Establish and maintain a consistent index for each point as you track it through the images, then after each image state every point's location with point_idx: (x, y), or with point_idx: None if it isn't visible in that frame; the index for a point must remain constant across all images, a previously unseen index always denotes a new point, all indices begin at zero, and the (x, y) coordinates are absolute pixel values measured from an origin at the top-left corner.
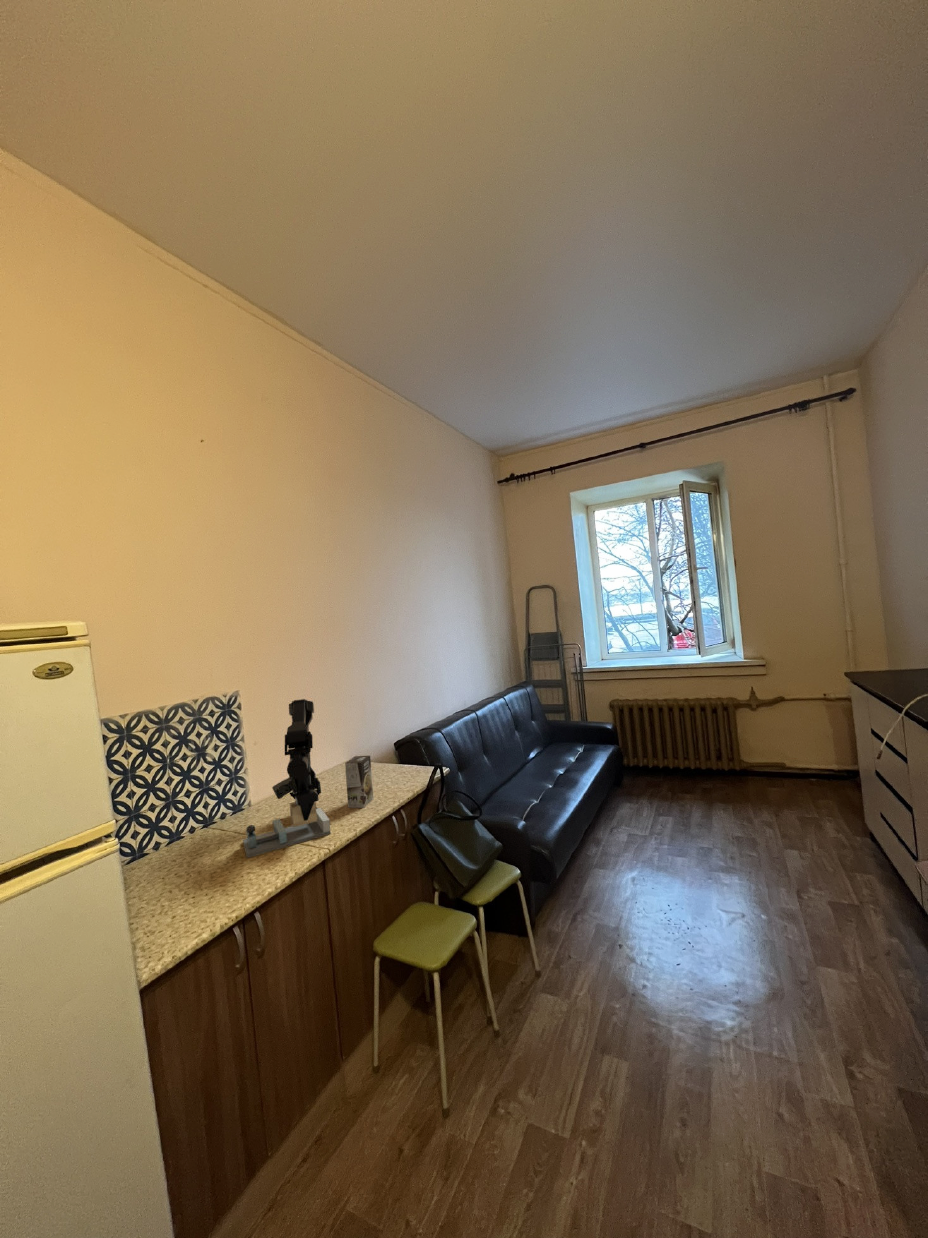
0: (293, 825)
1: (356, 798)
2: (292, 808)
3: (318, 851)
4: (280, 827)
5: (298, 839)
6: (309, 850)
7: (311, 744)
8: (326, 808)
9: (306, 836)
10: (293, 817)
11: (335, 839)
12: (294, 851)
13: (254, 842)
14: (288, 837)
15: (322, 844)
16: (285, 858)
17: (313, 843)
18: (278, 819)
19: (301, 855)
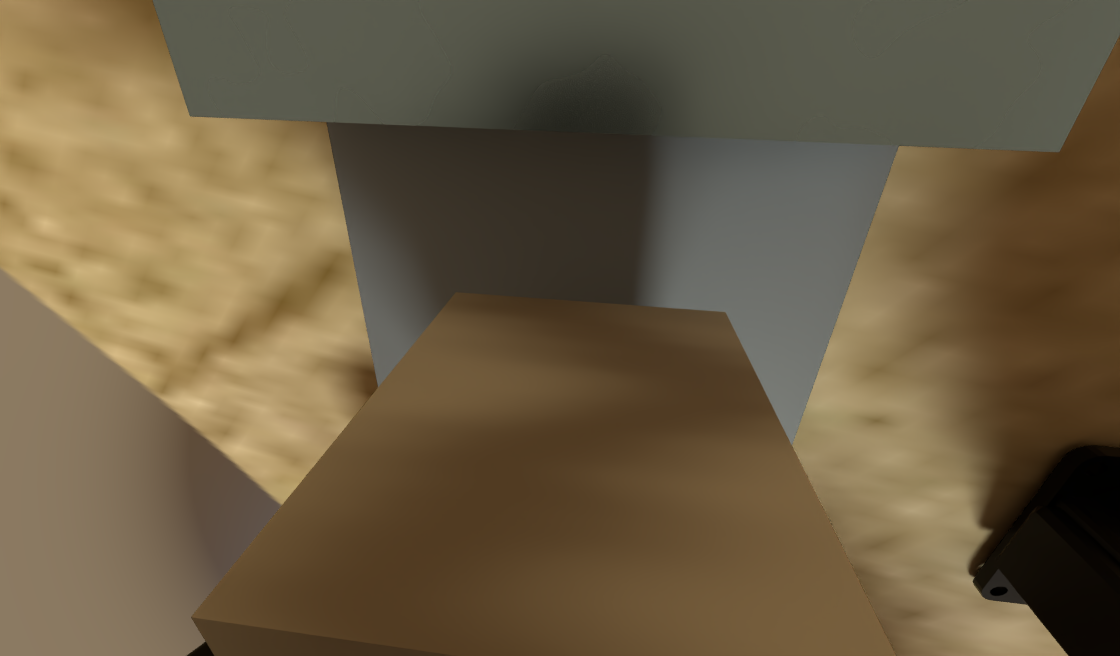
0: (494, 303)
1: None
2: (246, 597)
3: (118, 335)
4: (457, 54)
5: (361, 259)
6: (161, 283)
7: None
8: (1008, 640)
9: (395, 345)
10: (381, 389)
11: (295, 484)
12: (185, 154)
13: None
14: (493, 171)
15: (244, 396)
16: (29, 15)
17: (298, 350)
18: (1026, 118)
19: (70, 193)
